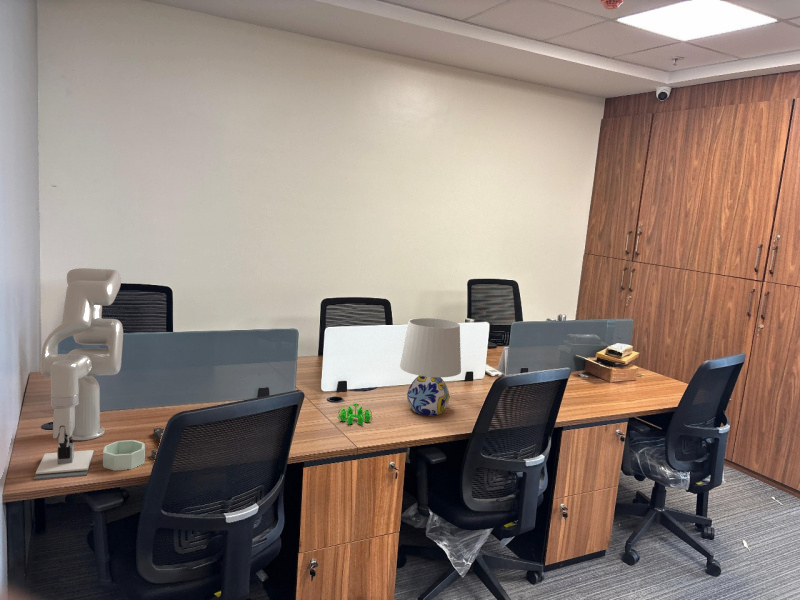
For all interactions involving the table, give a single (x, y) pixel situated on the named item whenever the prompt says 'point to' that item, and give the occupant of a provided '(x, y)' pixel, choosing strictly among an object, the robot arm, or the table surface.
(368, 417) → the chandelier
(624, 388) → the table surface
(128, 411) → the table surface
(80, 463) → the lid
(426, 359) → the table lamp
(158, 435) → the disk drive
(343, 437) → the table surface
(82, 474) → the mat
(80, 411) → the robot arm
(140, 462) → the bowl
